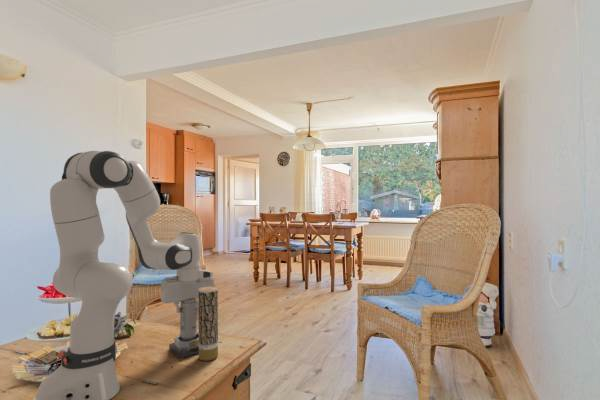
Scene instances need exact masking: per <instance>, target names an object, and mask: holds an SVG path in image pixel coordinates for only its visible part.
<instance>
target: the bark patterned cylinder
mask: <svg viewBox="0 0 600 400" xmlns="http://www.w3.org/2000/svg"><path fill="white" fill-rule="evenodd" d="M198 300H199V309H198V332H199V354H198V358H199V360H200V361H203V362H209V361H213V360H215V359H216V358H217V357H218V356H219V289H218V286H215V287H202V288H200V289H199V299H198Z"/></svg>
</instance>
